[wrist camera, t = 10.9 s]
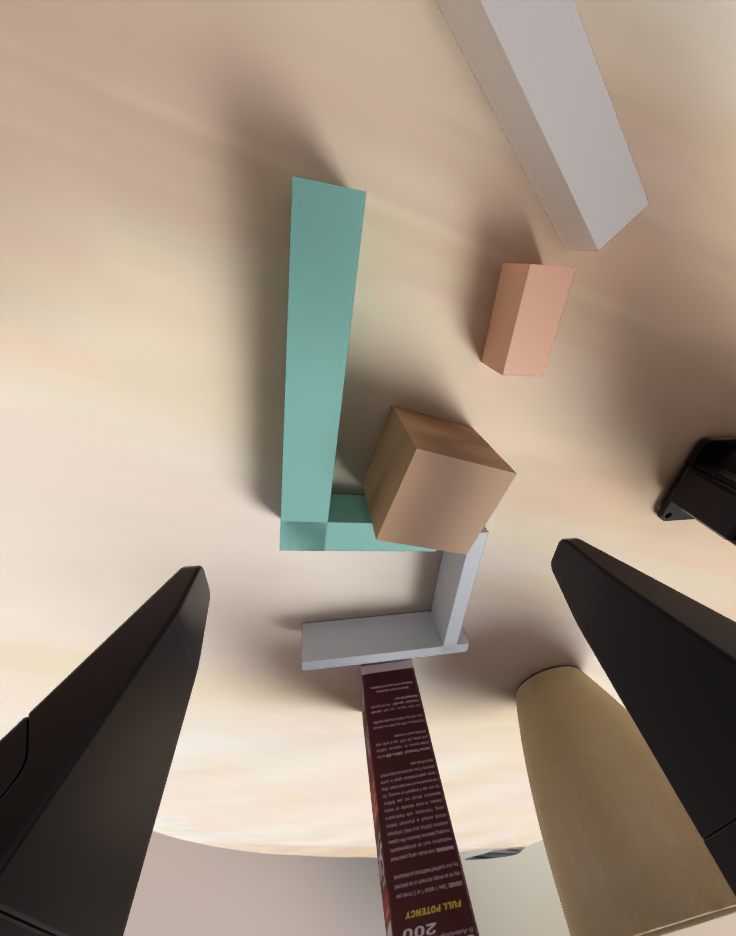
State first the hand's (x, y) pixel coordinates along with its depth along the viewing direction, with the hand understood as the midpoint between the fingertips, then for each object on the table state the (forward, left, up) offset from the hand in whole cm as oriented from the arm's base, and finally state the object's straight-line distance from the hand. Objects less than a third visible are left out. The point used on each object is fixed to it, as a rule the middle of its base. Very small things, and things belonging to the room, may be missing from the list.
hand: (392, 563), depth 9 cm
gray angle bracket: (-3, +13, -11) cm, 17 cm away
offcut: (-8, -4, -11) cm, 14 cm away
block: (-4, +3, -11) cm, 12 cm away
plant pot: (-22, +32, -11) cm, 40 cm away
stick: (-7, -11, -11) cm, 18 cm away
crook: (-1, 0, -11) cm, 11 cm away
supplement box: (-4, +28, -11) cm, 30 cm away
